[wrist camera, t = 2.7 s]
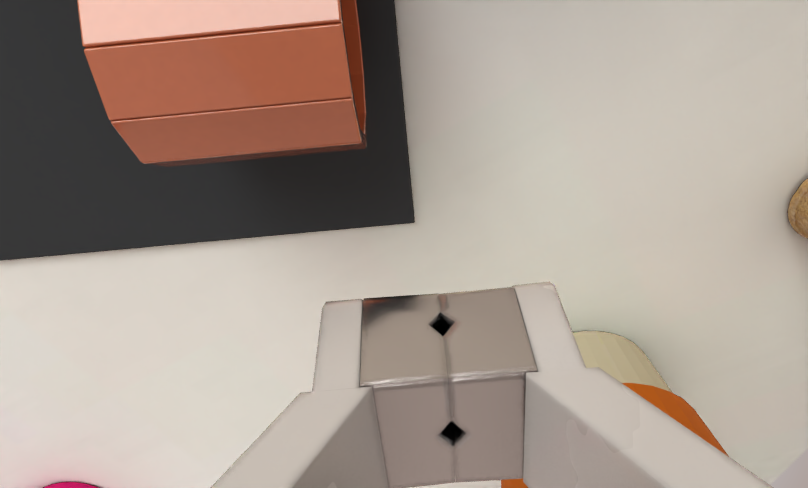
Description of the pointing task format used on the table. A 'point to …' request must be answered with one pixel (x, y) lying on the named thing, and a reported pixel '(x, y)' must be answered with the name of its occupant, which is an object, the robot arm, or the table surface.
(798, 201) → the spice jar
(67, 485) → the pepper mill
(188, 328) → the table surface
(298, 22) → the cup
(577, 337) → the reusable coffee cup
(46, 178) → the mat
